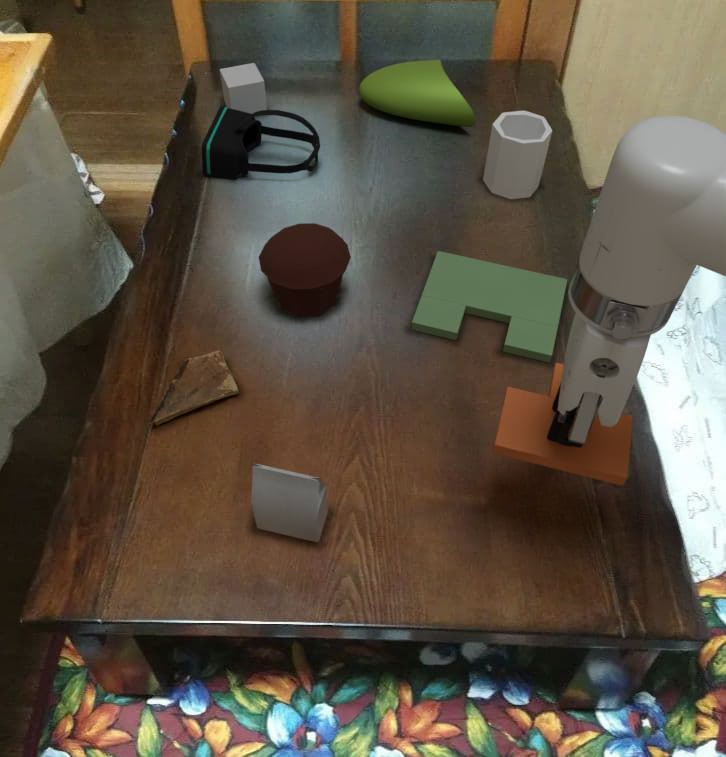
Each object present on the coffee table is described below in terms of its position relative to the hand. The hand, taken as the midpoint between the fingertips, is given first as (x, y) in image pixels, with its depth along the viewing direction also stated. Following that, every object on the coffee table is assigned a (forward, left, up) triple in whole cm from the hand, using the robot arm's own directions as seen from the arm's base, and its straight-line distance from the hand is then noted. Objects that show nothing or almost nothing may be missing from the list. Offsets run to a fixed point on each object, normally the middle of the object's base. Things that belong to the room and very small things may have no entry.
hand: (566, 425), depth 68 cm
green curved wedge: (+31, -68, -15) cm, 77 cm away
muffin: (+34, -22, -15) cm, 44 cm away
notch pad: (+10, -27, -15) cm, 33 cm away
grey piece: (+24, +10, -15) cm, 30 cm away
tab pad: (0, -2, -2) cm, 3 cm away
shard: (+40, -2, -15) cm, 43 cm away
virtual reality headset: (+50, -47, -15) cm, 71 cm away
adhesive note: (+59, -60, -15) cm, 86 cm away
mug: (+13, -56, -15) cm, 60 cm away
